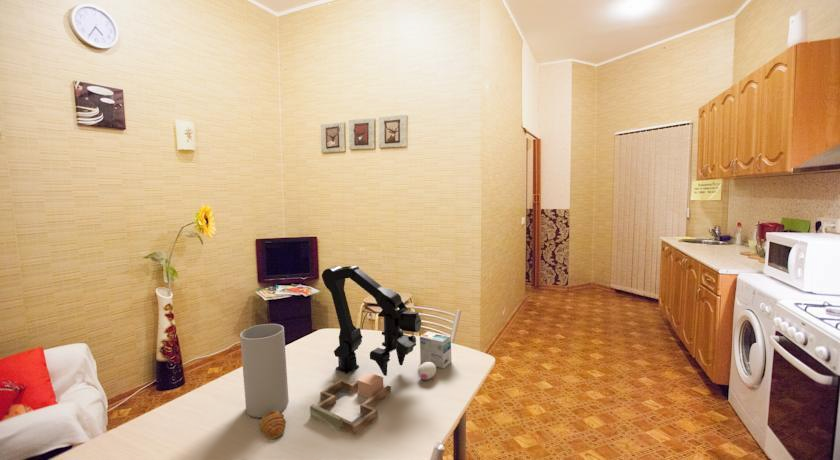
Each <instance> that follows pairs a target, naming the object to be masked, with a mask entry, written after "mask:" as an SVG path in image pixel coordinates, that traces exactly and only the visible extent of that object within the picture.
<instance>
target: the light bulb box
mask: <svg viewBox="0 0 840 460" xmlns="http://www.w3.org/2000/svg"><path fill="white" fill-rule="evenodd" d="M419 349H420V350H419V352H420V353H419V354H420V355H419V358H420V359H419V361H420V363H421V364H423V363H425V362H432V363H433V364H435V366H436V368H440V369H445V367H446V368H447V366H448V365H450V364H451V363H452V336H451V335H448V334H443V333H436V332H433V331H429V330H428V331H426V332H425V333H423V334H421V335H420V336H419Z"/></svg>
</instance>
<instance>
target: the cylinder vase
mask: <svg viewBox="0 0 840 460" xmlns="http://www.w3.org/2000/svg"><path fill="white" fill-rule="evenodd" d="M239 338H240V350H241V352H240V353H241V360H242V361H241V363H242V364H241V365H242V373H243V374H242V376H243V385H244V387H243V388H244V398H245V402H244V403H245V411H246V414H247V415H248V416H250V417H253V418H258V419H259V418H260V419H262V417H263V416H264V415H265V414H267V413H268V412H270V411H278V412H279V413H282V411H283V410H285V409H286V407H287V406H288V404H289V399H290V397H289V387H288V386H289V385H288V372H287V371H288V369H287V358H286V357H287V355H286V343H285V342H286V340H285V339H286V337H285V327H284V326H283V325H281V324H279V323H264V324H258V325H257V324H256V325H253V326H250V327H248V328H246V329H243V330H242V331H241V332H240V334H239Z"/></svg>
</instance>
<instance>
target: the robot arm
mask: <svg viewBox="0 0 840 460" xmlns="http://www.w3.org/2000/svg"><path fill="white" fill-rule="evenodd" d="M321 278H322V279H321V280H322V281H323V284H324V287H326V289H327V290H328V291H329V292H330V294H331V298H332V301H333V302H332V303H333V305H334V308H335V314H336V317H337V322H338V325H339V334H338V335H339V336H338V343H339V344H338V346H337V347H336V349H334V350H333V354H334V356H335V357H337V358H338V359H337V360H338V366H337V367H335V370H337V371H339V372H342V373H345V374H349V373H351V372H353V371H355V370H356V369H358V368H360V365H359V364H358V363H357V357H356V356H357V355H356V351H357V350H358V349H359V347H360V345H361V344H362V342H363V338H364V337H363V336H362V333H361V331H362V330H361V328H360V327H358V328H357V327H356V326H355V325H354V323H353V318H352V315H351V311H350V307H349V304H348V300H347V297H346V291H345V285H346V284H345V283H346V279H351V280H352V281H353V282H354V283H355V284H356V285H358V286H359V287H360V288H362V289H363V290H364V291H365V292H366V293H367V294H369V295H370V296H372V298H373V299H374V300H375V302H376V304H377V305H378V307H380V309H381V311H380V312H379V313H378V314H377V316H378V317H381V318H383V330H382V331H381V335H382V336H384V337H383V339H384V340H383V342H381V346H383V347H384V348H380V347H376V348H375V349H372V350H371V351H370V352H369V359H370V360H372V361H375V363H376V364H377V365H378V367H379V369H380V371H381V373H382V374H383V376H385V377H386V376H388V363H389V362H390V361H391V359H390V357H391V353H392V352H394V351H396V356H397V361H398V365H399V366H403V364H404V360H405V358H406V356H407V355H408V354H410V353H412V352H413V350H414V347H415V346H417V339H416V337H417V336H415V335H414V334H412V335H407V334H404V332H411V333H417V334H419V332H420V330H421V327H422V319H421V317H420V315H419V312H418V311H413V312H412V311H408V310H409V309H408V308H407V306H406V304H405V303H404V301H403V300H402V297H401V294H399V293H397V292H396V291H394V290H392V289H390V288H386V287H384V286H382V285H380V283H378V282H377V281H376V280H375V279H373V278H372V277H370V276H369V275H368V274H367V273H366V272H364V271H363V270H362V269H360V267H359V266H357V265H351V266H350V265H349V266H342V267H341V266H340V265H334V266H331V267H329V268H326V269H324V270H323V271H322V273H321ZM396 309H397V310H396Z"/></svg>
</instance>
